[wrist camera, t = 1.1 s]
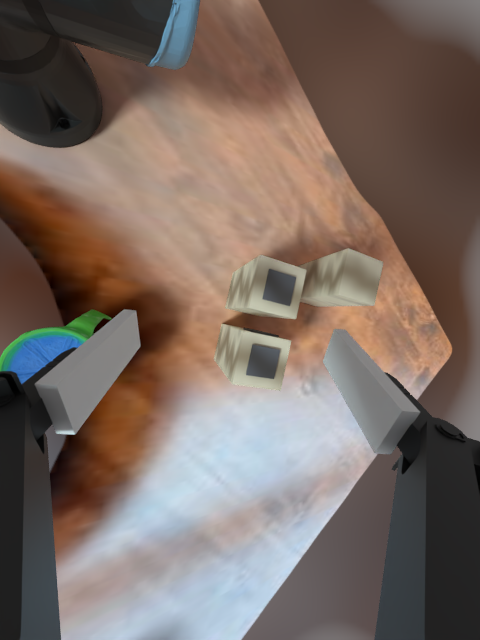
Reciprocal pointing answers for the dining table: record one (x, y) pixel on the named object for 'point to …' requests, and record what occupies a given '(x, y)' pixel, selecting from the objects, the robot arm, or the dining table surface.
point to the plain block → (341, 280)
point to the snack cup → (47, 345)
